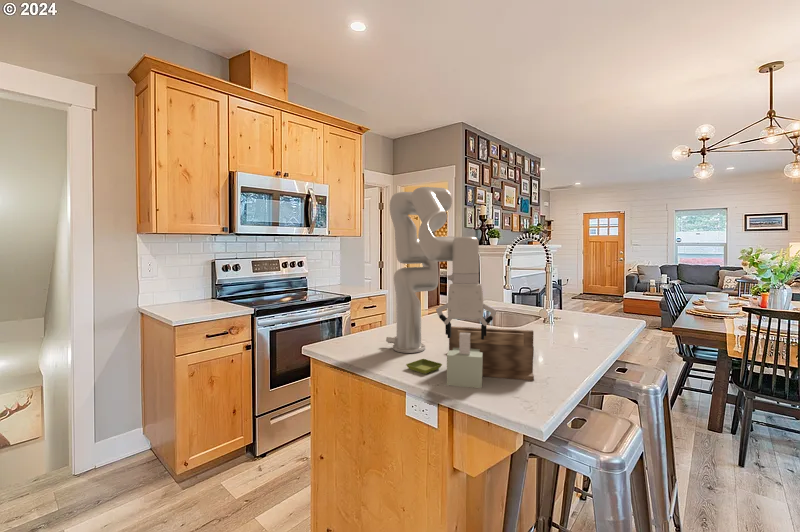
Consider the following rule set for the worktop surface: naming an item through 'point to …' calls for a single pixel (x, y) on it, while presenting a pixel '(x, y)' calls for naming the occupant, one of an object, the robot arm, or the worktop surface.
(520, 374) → the wall board
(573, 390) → the worktop surface
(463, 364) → the pale green stepped block
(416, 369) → the olive green square tray
